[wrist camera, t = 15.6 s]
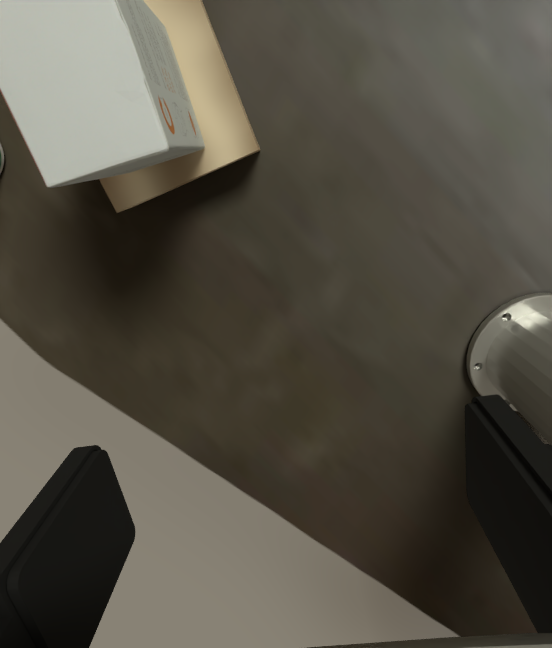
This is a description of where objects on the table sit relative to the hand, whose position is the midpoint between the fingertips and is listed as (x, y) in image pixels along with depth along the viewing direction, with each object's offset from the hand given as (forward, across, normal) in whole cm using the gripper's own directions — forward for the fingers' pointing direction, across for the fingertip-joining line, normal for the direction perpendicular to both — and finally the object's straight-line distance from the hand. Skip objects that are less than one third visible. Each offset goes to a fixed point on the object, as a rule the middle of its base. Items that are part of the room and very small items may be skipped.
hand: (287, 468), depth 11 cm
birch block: (+29, +8, -13) cm, 33 cm away
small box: (+24, +8, -13) cm, 29 cm away
